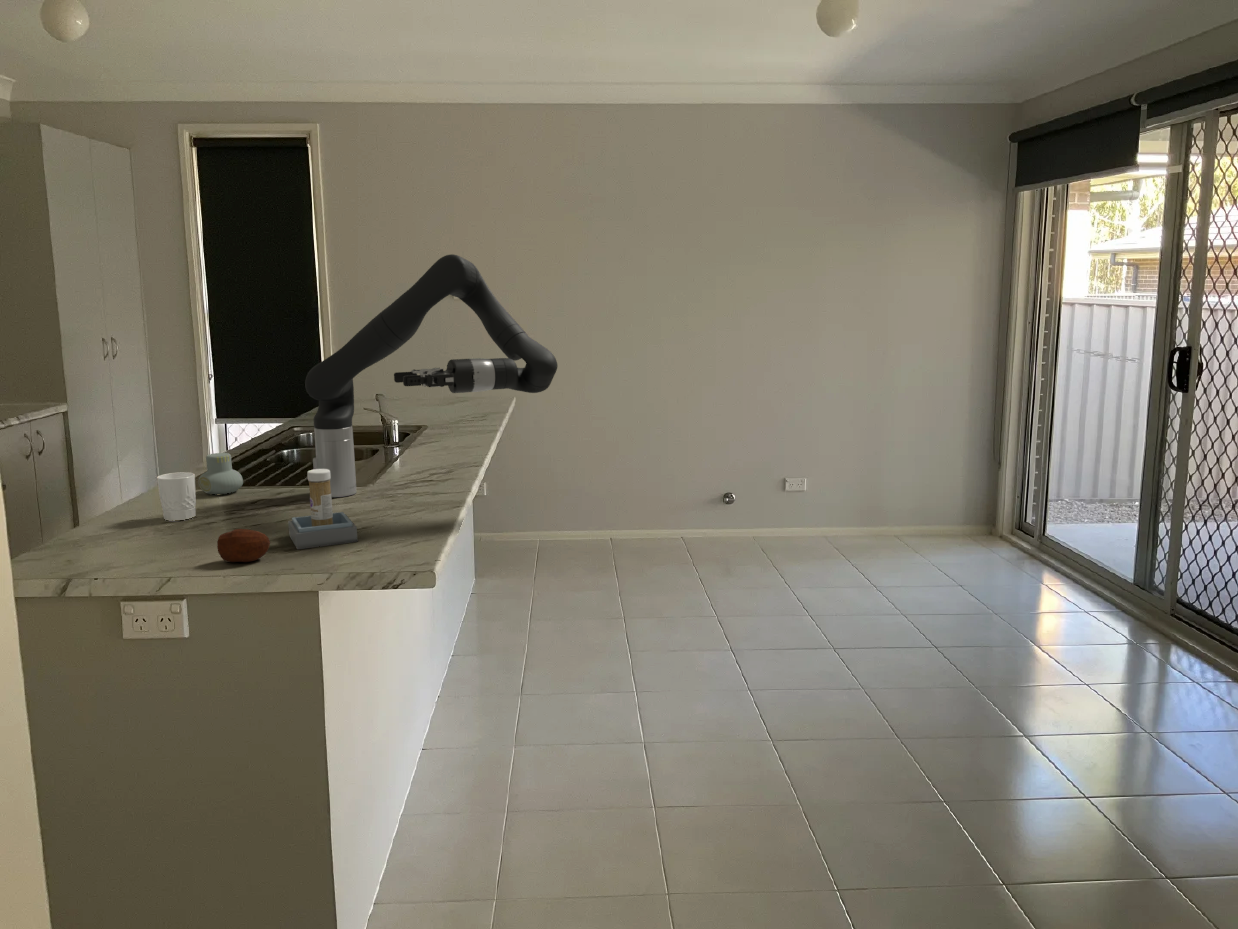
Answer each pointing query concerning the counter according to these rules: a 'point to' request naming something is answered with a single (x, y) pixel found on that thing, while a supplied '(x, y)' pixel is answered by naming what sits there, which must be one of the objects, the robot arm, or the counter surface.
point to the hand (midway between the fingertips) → (398, 379)
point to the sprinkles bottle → (320, 497)
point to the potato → (242, 545)
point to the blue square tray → (322, 531)
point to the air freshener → (220, 475)
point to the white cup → (177, 495)
